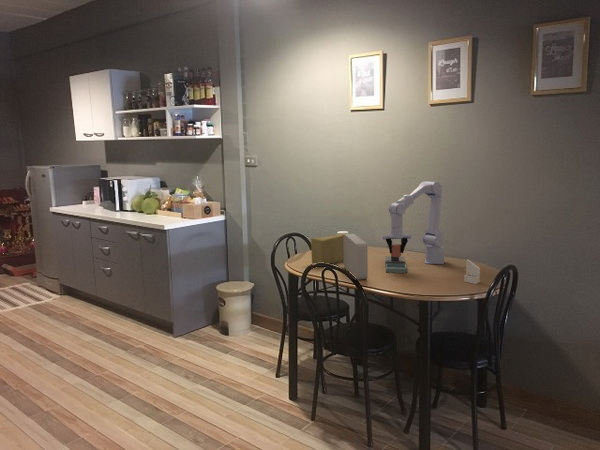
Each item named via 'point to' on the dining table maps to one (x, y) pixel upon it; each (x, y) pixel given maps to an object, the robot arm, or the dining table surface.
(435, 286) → the dining table surface
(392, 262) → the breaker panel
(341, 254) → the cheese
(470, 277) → the white wedge bracket
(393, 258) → the switch
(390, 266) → the tray
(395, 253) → the block
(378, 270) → the dining table surface
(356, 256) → the tall light grey box
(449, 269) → the dining table surface
